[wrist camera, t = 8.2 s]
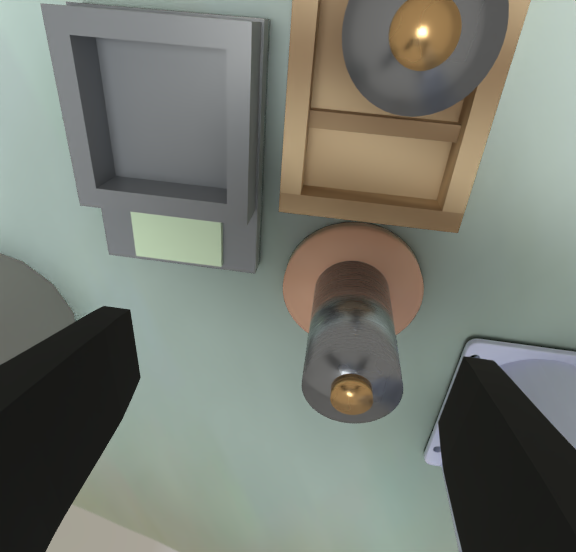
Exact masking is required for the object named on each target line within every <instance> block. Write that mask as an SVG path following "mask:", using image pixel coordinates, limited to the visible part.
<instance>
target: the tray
mask: <svg viewBox="0 0 576 552" xmlns="http://www.w3.org/2000/svg"><path fill="white" fill-rule="evenodd" d="M348 1H349V0H292V16H291V31H290V46H289V62H288V77H287V92H286V108H285V123H284V138H283V154H282V169H281V184H280V200H279V212H285V213H293V214H302V215H310V216H319V217H327V218H336V219H344V220H352V221H361V222H369V223H378V224H386V225H395V226H403V227H411V228H420V229H428V230H437V231H445V232H454V233H458V231H459V228H460V225H461V222H462V218H463V215H464V212H465V209H466V206H467V202H468V199H469V196H470V193H471V190H472V186H473V183H474V180H475V177H476V174H477V170H478V167H479V164H480V161H481V158H482V154H483V151H484V148H485V145H486V142H487V138H488V135H489V132H490V129H491V126H492V123H493V119H494V116H495V113H496V110H497V107H498V103H499V100H500V97H501V94H502V91H503V87H504V84H505V81H506V78H507V75H508V71H509V68H510V65H511V62H512V59H513V55H514V52H515V49H516V46H517V43H518V39H519V36H520V33H521V30H522V27H523V23H524V20H525V17H526V14H527V11H528V7H529V4H530V1H531V0H508V1H509V18H508V26H507V31H506V35H505V39H504V43H503V45H502V48H501V50H500V53H499V55H498V57H497V59H496V61H495V63H494V65H493V66H492V68H491V70H490V71H489V73H488V74H487V76H486V77H485V78H484V79H483V80H482V82H481V83H480V84H479V85H478V86H477V87H476V88H475V89H474V90H473V91H472V92H471V93H470V94H469V95H467V96H466V97H465V98H464V99H462V100H461V101H459V102H458V103H456V104H455V105H453V106H451V107H449V108H447V109H445V110H443V111H440V112H437V113H434V114H430V115H425V116H415V117H409V116H400V115H395V114H392V113H389V112H386V111H384V110H382V109H380V108H378V107H376V106H375V105H373V104H372V103H371V102H369V101H368V100H367V99H366V98H365V97H364V96H363V95H362V94H361V93H360V92H359V90H358V89H357V88H356V86H355V85H354V83H353V81H352V80H351V78H350V75H349V73H348V71H347V68H346V64H345V61H344V57H343V50H342V26H343V20H344V15H345V10H346V7H347V4H348Z"/></svg>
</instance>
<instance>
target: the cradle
mask: <svg viewBox="0 0 576 552" xmlns="http://www.w3.org/2000/svg"><path fill="white" fill-rule="evenodd" d="M41 9H42V15H43V20H44V25H45V30H46V35H47V40H48V45H49V50H50V55H51V60H52V65H53V70H54V75H55V80H56V85H57V90H58V96H59V101H60V106H61V111H62V116H63V121H64V126H65V131H66V136H67V141H68V146H69V151H70V156H71V161H72V166H73V171H74V177H75V182H76V187H77V192H78V197H79V202H80V206H89V207H97V208H101V210H102V216H103V222H104V228H105V234H106V240H107V245H108V251H109V255H117V256H124V257H132V258H140V259H147V260H155V261H163V262H170V263H178V264H186V265H193V266H201V267H209V268H216V269H224V270H232V271H240V272H247V273H256V270H257V267H258V265H259V256H260V232H261V209H262V185H263V161H264V137H265V114H266V90H267V66H268V43H269V19H263V18H251V17H239V16H228V15H216V14H204V13H192V12H181V11H169V10H157V9H145V8H134V7H122V6H110V5H98V4H87V3H74V2H66V5H55V4H41Z"/></svg>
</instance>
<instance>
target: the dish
mask: <svg viewBox="0 0 576 552" xmlns="http://www.w3.org/2000/svg"><path fill="white" fill-rule="evenodd" d="M344 261H360V262H364V263H367V264H370V265H372V266H373V267H375V268H376V269H378V270H379V271H380V272H381V273H382V274H383V275H384V277H385V278H386V280H387V283H388V286H389V292H390V299H391V306H392V313H393V320H394V327H395V334H396V335H397V334H398V333H400V332H401V331H402V330H403V329H405V328H406V327H407V326H408V325H409V324H410V323H411V321H412V320H413V319H414V317H415V316H416V314H417V312H418V310H419V308H420V305H421V303H422V298H423V290H424V286H423V278H422V275H421V271H420V267H419V264H418V261H417V259H416V257H415V255H414V253H413V252H412V250H411V249H410V247H409V246H408V245H407V244H406V243H405V242H404V241H403V240H402V239H401V238H399V237H398V236H397V235H395V234H394V233H392V232H390V231H389V230H386V229H384V228H382V227H379V226H376V225H373V224H368V223H362V222H344V223H338V224H333V225H330V226H327V227H324V228H322V229H320V230H317V231H316V232H314V233H312V234H311V235H309V236H308V237H307V238H306V239H304V240H303V241H302V242H301V243H300V244H299V245H298V246H297V248H296V249H295V250H294V252H293V253H292V255H291V257H290V259H289V262H288V265H287V268H286V272H285V275H284V281H283V295H284V300H285V303H286V306H287V309H288V311H289V313H290V314H291V316H292V317H293V319H294V320H295V321H296V322H297V324H298V325H299V326H300V327H301V328H303V329H304V330H305V331H306V332H308V333H309V327H310V320H311V313H312V306H313V298H314V291H315V285H316V282H317V280H318V278H319V276H320V275H321V274H322V273H323V272H324V271H325V270H326V269H327V268H329V267H330V266H332V265H334V264H336V263H339V262H344Z"/></svg>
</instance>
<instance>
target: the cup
mask: <svg viewBox="0 0 576 552" xmlns="http://www.w3.org/2000/svg"><path fill="white" fill-rule="evenodd" d="M74 322H75V319H74V314H73V311H72V310H71V308H70V307H69V306H68V304H67V303H66V301H65V300H64V299H63V297H62V296H61V294H60V293H59V292H58V290H57V289H56V287H55V286H54V285H53V284H52V283H51V282H49V281H48V280H47V279H45V278H44V277H43V276H41V275H40V274H39V273H37V272H36V271H35V270H33V269H32V268H31V267H29V266H28V265H27V264H25V263H24V262H23V261H20V260H17V259H14V258H11V257H8V256H6V255H3V254H0V365H1V364H3V363H5V362H6V361H8V360H10V359H12V358H14V357H15V356H17V355H19V354H20V353H22V352H24V351H26V350H27V349H29V348H31V347H33V346H34V345H36V344H38V343H40V342H41V341H43V340H45V339H47V338H48V337H50V336H52V335H53V334H55V333H57V332H58V331H60V330H62V329H64V328H65V327H67V326H69V325H70V324H72V323H74Z"/></svg>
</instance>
